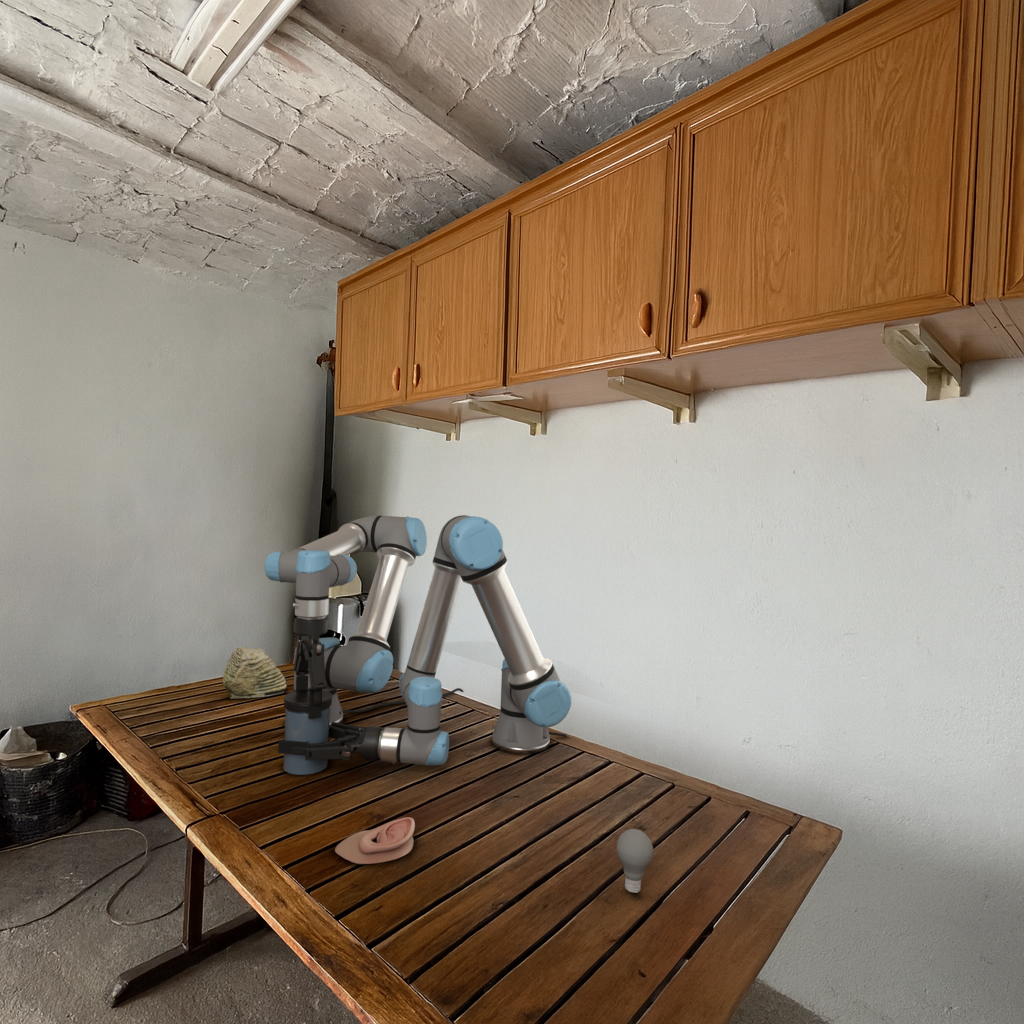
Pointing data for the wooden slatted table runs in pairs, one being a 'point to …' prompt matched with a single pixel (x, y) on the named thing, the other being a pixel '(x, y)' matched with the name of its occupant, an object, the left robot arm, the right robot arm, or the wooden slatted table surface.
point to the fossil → (252, 674)
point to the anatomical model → (379, 843)
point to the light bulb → (634, 857)
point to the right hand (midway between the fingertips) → (289, 737)
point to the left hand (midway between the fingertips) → (307, 710)
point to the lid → (304, 701)
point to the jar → (305, 730)
